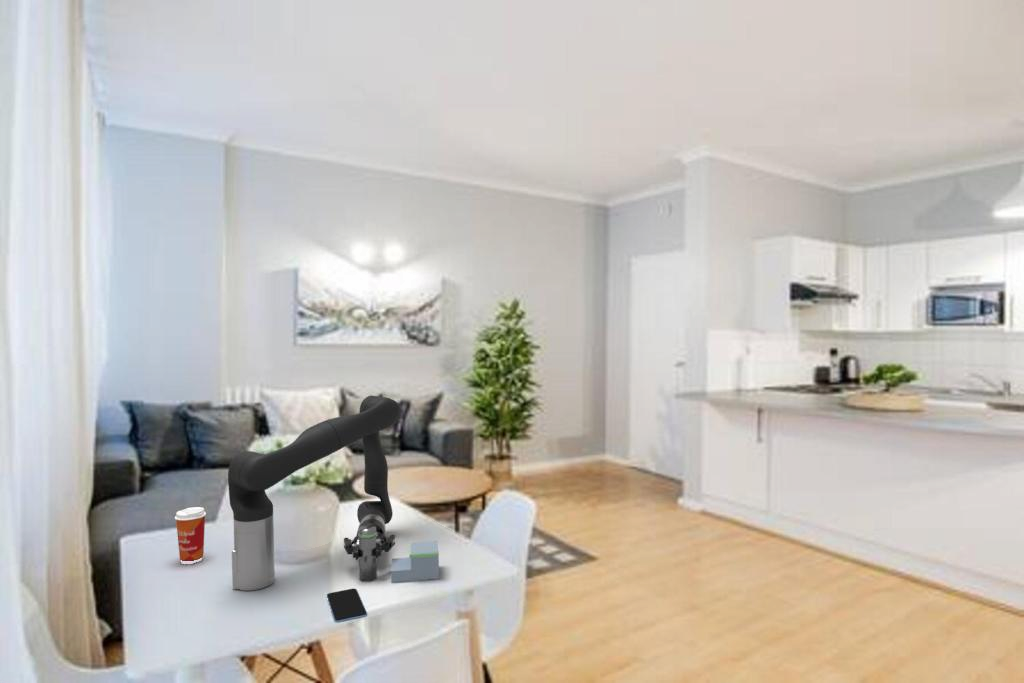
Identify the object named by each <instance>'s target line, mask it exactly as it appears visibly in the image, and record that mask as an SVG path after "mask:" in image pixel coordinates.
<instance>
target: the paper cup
mask: <svg viewBox="0 0 1024 683" xmlns="http://www.w3.org/2000/svg"><path fill="white" fill-rule="evenodd" d="M175 514H176V515H175V516H174V519H175V521H176V522H175V523H176V532H177V543H178V544H177V545H178V553H179V554H178V555H179V561H180V560H182V561H194V560H198V559H200V558H202V557H203V558H204V553H205V552H204V550H205V548H204V546H205V522H206V521H205V520H206V515H207V512H206V511H205V508H204V507H199V506H198V507H196V506H195V507H187V508H185V509H180V510H178V511H177V512H176V513H175Z"/></svg>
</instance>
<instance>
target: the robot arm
mask: <svg viewBox="0 0 1024 683" xmlns="http://www.w3.org/2000/svg"><path fill="white" fill-rule="evenodd" d="M400 414H401V406H400V404H399V403H398V402H397V401H396V400H394V399H392V398H390V397H385V396H381V395H368V396H365V397H364V399H363V400H362V401H361V403H360V405H359V413H354V414H349V415H344V416H339V417H338V416H337V417H333V418H329V419H326V420H324V421H323V420H322V421H321V422H318V423H316V424H314V425H312V426H309V427H308V428H306V429H305V430H304V431H302V432H301V433H300V434H299V435H298V436H297V437H296V439H295V440H294V441H293V442H292V443H290V444H288V445H286V446H284V447H282V448H280V449H277V450H273V451H271V452H268V453H261V452H256V451H251V450H248V451H247V450H246V451H242V452H240V453H237V454H236V455H235V456H234V457H233V458H232V460H231V461H230V463H229V467H228V470H227V483H228V484H227V485H228V498H229V504H230V505H229V506H230V508H231V510H232V513H233V517H232V518H233V540H234V541H233V544H234V545H233V546H234V547H233V549H232V550H231V572H232V573H231V574H232V576H231V580H232V590H239V589H240V590H239V591H247V592H248V591H257V590H261V589H264V588H266V587H269V586H271V585H272V584H274V582H275V580H276V578H275V577H276V575H275V573H276V572H275V539H274V538H275V535H274V534H275V532H274V530H275V529H274V525H275V524H274V505H273V502H272V500H271V499H270V498H269V497H268V495H267V493H266V490H268V489H270V488H272V487H273V486H275V485H277V484H278V483H280V482H282V480H284V479H286V478H288V477H289V476H291V475H292V474H294V473H296V472H298V471H299V470H301V469H303V468H306V467H307V466H309V465H311V464H313V463H315V462H317V461H319V460H323V459H324V458H326V457H328V456H330V455H332V454H333V453H336V452H338V451H339V450H341V449H343V448H345V447H347V446H349V445H351V444H353V443H355V442H357V441H359V440H361V439H362V446H363V454H364V455H363V456H364V479H363V480H364V481H363V489H364V490H363V491H364V492H365V494H366V495H369V496H374V497H377V498H378V499H379V500H366V501H362V502H361V503H360V504H359V505H358V507H357V514H356V516H357V520H358V523H359V525H358V528H357V532H356V536H354V538H353V539H351V538H349V537H344V538H343V548H344V551H345V552H346V554H347V555H352V558H353V559H355V561H357V560H358V561H359V537H358V532H359V531H358V529H359V528H360V527H362V526H366V525H373V526H375V527H376V531H377V535H376V558H377V559H379V558H380V557H381V556H382V553H383V552H386V553H388V552H390V550H392V549H393V547H395V545H396V535H395V534H390V535H389V536H387V537H386V525H387V524H389V523H390V522H391V520H392V519H393V515H394V514H393V508H392V504H391V501H390V497H389V490H388V489H389V488H388V487H389V486H388V479H389V476H388V475H389V468H388V461H387V458H386V455H385V451H384V450H383V445H382V442H381V438H380V431H384V430H386V429H389V428H390V427H392V426H393V425H395V424H396V423H397V421H398V420H399V418H400V416H401V415H400Z"/></svg>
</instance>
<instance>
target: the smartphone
mask: <svg viewBox="0 0 1024 683" xmlns="http://www.w3.org/2000/svg"><path fill="white" fill-rule="evenodd" d="M326 595H327V597H326V599H327V598H328V600H327V603H328V602H329V603H328V606H330V607H329V609H331V610H330V614H331V617H332V619H333V621H334V622H335V623H337V624H338V623H343V622H344V623H345V622H348V621H352V620H358V619H362V618H365V617H367V616H368V612H367V609H366V607H365V605H364V603H363V601H362V599H361V596H360V594H359V592H358V590H357V589H356V588H349V589H344V590H339V591H333V592H328V593H327V594H326Z"/></svg>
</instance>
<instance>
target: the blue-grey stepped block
mask: <svg viewBox="0 0 1024 683" xmlns="http://www.w3.org/2000/svg"><path fill="white" fill-rule="evenodd" d="M438 545H439V543H438V540H430V541H416V542H414V541H413V542H409V553H408V554H409V557H397V558H391V566H390V567H391V568H390V583H393V584H394V583H407V582H418V581H417V580H421V581H428V580H427V579H434V580H439V579H440V569H439V567H440V566H439V565H440V562H439V560H440V558H439V556H440V555H439V554H440V553H439V552H440V551H439V546H438Z"/></svg>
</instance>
